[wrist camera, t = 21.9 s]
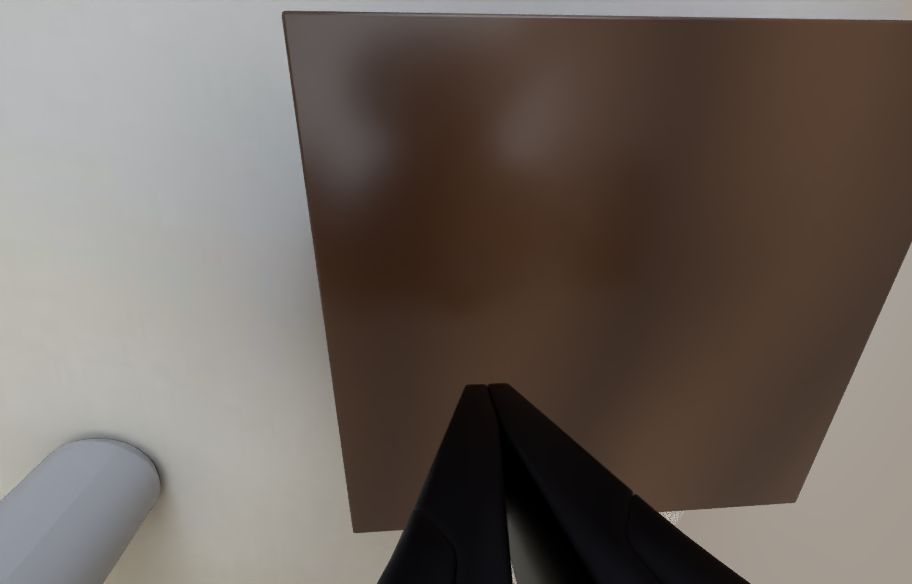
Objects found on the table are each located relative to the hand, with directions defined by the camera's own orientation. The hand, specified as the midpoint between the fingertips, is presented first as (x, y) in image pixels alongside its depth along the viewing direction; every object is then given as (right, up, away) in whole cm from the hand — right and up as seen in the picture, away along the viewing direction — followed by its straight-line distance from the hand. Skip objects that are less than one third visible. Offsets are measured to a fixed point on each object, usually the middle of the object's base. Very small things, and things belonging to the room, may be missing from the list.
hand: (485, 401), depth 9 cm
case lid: (+3, +1, +3) cm, 5 cm away
